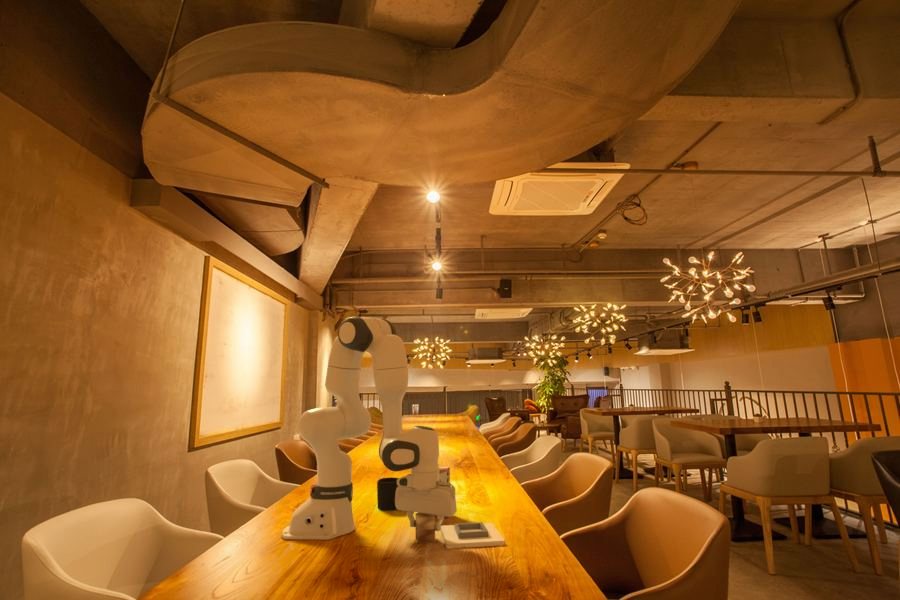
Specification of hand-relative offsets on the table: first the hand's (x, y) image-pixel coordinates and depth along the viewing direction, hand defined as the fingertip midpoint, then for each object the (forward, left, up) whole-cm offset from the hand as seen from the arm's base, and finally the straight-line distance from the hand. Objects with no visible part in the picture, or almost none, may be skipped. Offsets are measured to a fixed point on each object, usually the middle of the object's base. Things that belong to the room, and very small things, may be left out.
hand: (425, 528), depth 133 cm
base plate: (+14, 0, -3) cm, 14 cm away
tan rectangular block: (0, 0, -3) cm, 3 cm away
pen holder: (-11, +38, -3) cm, 40 cm away
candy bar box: (+5, +24, -3) cm, 25 cm away
